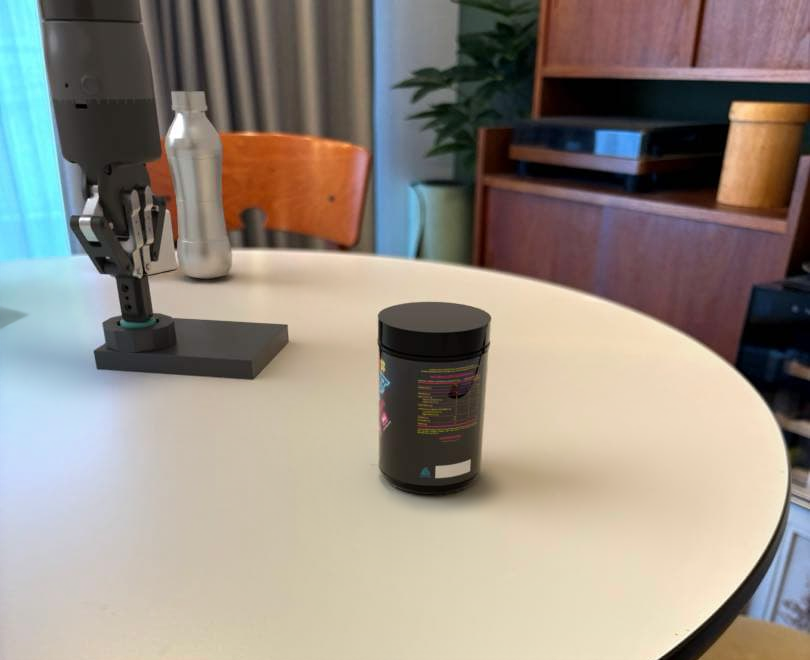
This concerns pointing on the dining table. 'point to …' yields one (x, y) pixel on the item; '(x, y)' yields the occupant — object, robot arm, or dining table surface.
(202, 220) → the silver bottle
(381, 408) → the supplement container
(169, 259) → the medicine bottle
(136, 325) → the button
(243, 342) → the dark grey button base
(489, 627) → the dining table surface
